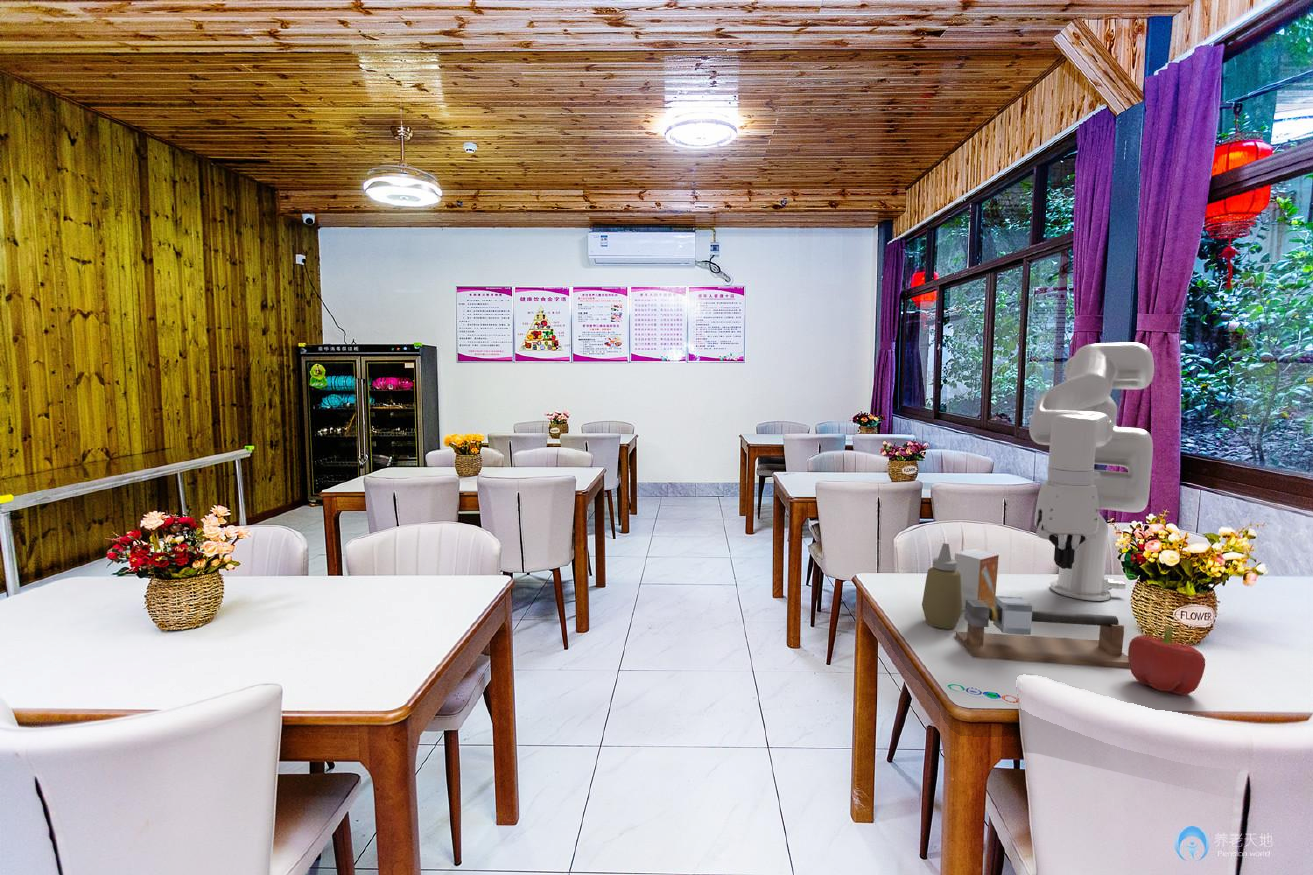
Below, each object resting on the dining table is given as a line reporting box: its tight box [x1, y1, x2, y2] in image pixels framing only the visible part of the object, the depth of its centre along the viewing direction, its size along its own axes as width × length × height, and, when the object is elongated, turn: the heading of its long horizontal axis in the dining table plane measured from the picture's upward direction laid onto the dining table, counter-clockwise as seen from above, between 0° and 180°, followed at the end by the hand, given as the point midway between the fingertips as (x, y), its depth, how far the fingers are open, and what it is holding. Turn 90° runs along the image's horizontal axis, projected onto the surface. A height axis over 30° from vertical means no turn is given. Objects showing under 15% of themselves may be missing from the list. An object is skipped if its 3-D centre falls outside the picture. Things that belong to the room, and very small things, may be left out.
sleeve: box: [992, 595, 1033, 636], centre depth 122 cm, size 5×5×6 cm
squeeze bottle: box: [921, 542, 963, 630], centre depth 134 cm, size 8×8×18 cm
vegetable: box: [1127, 624, 1206, 696], centre depth 108 cm, size 11×10×10 cm
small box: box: [954, 548, 1000, 611], centre depth 145 cm, size 8×6×13 cm
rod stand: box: [955, 599, 1130, 669], centre depth 122 cm, size 29×10×9 cm, turn 83°
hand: (1063, 566), depth 124 cm, fingers closed
